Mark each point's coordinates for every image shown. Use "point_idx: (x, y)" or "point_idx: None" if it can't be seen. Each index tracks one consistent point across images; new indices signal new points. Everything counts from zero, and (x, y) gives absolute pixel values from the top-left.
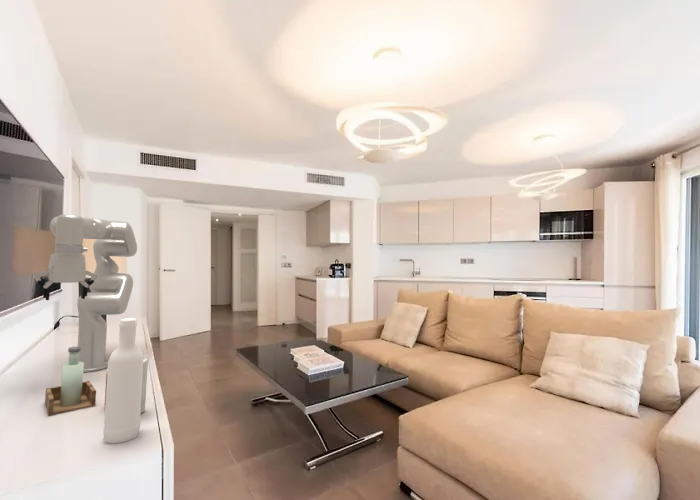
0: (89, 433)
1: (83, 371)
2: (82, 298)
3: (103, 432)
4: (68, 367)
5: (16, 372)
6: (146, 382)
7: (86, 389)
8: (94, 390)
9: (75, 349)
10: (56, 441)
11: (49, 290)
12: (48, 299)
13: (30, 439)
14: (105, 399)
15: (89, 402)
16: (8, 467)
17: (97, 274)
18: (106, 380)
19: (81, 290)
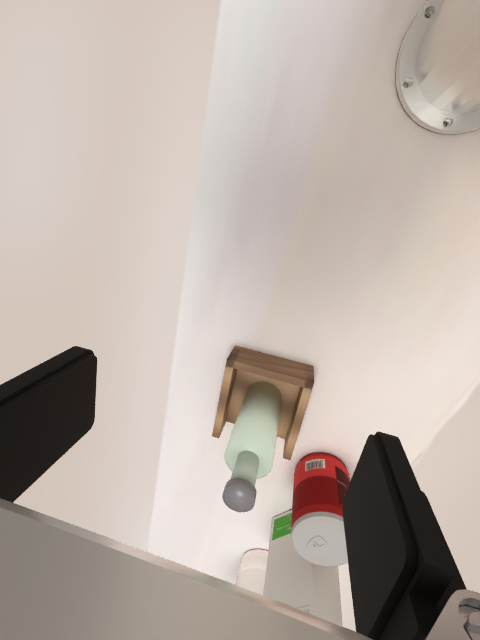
0: (239, 525)
1: (413, 119)
2: (344, 503)
3: (239, 568)
4: (232, 468)
5: None
6: (338, 587)
7: (301, 388)
8: (288, 456)
9: (236, 508)
10: (203, 510)
11: (15, 495)
12: (86, 425)
13: (182, 478)
14: (294, 482)
15: (288, 424)
16: (153, 524)
17: None
18: (292, 516)
19: (394, 507)
